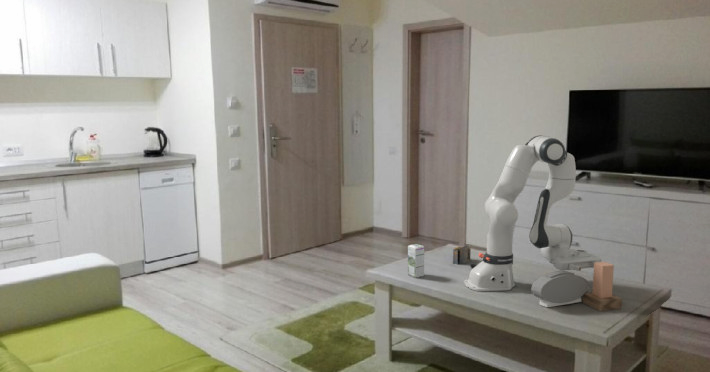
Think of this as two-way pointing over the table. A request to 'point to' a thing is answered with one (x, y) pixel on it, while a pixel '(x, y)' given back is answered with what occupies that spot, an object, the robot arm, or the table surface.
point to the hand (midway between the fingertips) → (589, 268)
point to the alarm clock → (559, 288)
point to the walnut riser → (602, 302)
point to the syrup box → (416, 260)
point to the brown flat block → (461, 254)
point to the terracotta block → (603, 279)
